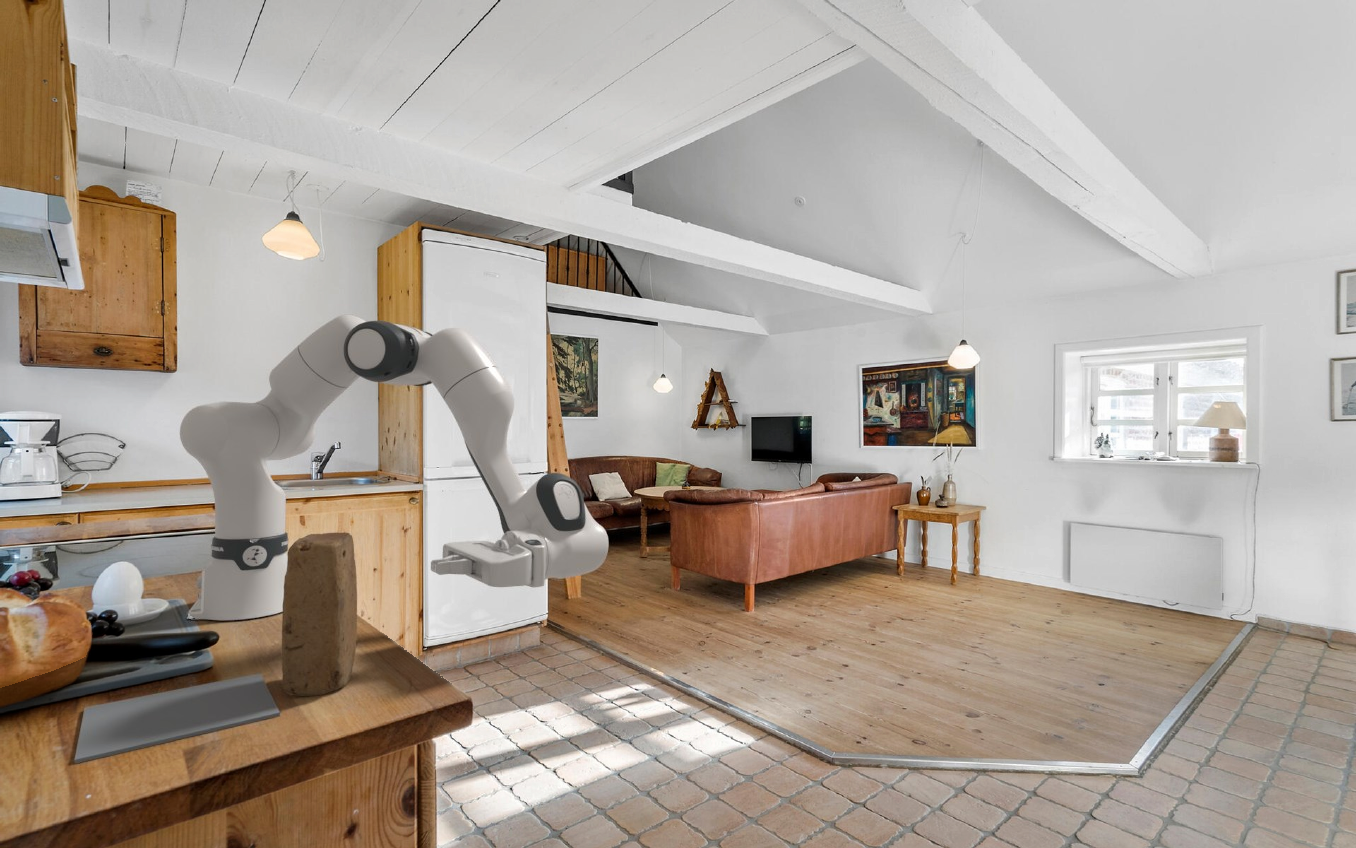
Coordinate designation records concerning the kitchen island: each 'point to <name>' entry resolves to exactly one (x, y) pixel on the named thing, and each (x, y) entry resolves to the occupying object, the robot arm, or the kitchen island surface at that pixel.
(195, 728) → the mat
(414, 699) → the kitchen island surface
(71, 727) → the kitchen island surface
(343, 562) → the block
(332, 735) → the kitchen island surface
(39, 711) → the kitchen island surface
